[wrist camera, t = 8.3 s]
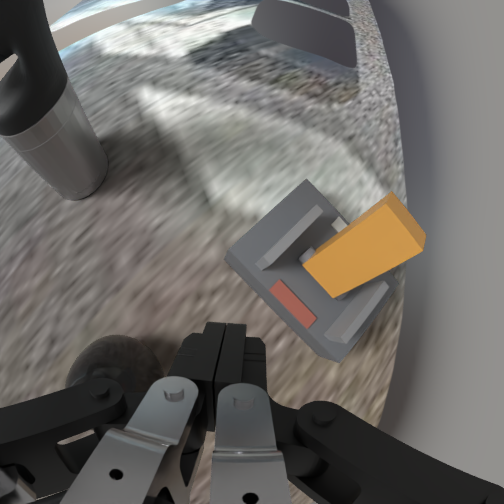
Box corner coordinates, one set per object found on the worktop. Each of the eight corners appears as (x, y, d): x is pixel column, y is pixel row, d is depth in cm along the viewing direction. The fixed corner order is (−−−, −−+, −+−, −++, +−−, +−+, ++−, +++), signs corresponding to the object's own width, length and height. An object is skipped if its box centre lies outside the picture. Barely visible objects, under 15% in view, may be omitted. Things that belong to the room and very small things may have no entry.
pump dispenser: (81, 346, 29) (15, 364, 15) (148, 320, 32) (109, 329, 17) (114, 416, 28) (71, 469, 14) (182, 394, 31) (171, 449, 16)
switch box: (223, 259, 35) (232, 240, 25) (291, 196, 38) (319, 163, 29) (318, 355, 35) (357, 369, 25) (374, 287, 38) (419, 279, 28)
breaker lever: (293, 262, 29) (379, 196, 19) (304, 249, 31) (386, 185, 21) (332, 304, 29) (427, 257, 19) (341, 290, 31) (430, 241, 21)
